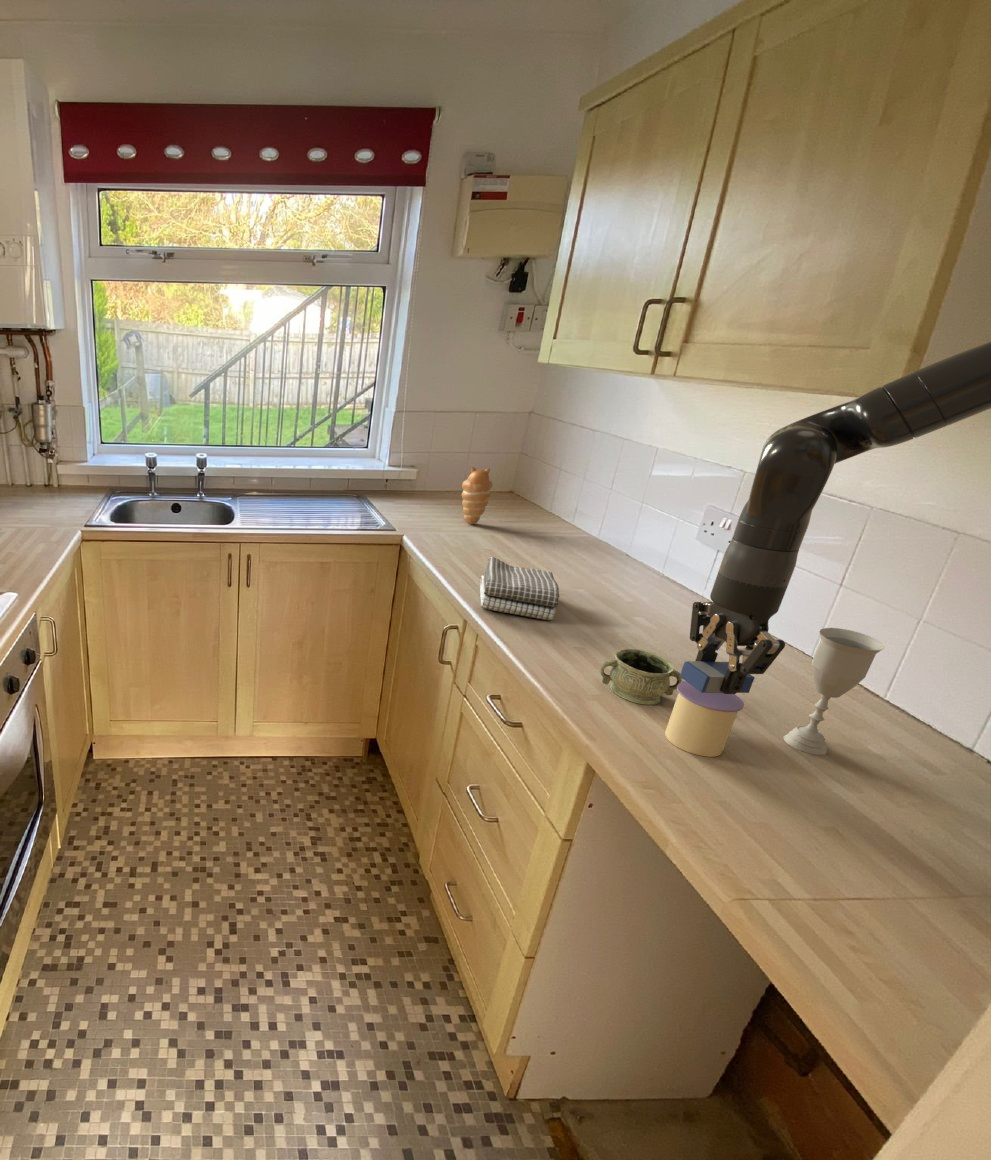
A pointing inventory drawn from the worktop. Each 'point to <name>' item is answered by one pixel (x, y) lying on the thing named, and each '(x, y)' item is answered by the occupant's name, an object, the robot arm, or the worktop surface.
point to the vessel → (640, 676)
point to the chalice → (834, 679)
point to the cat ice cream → (476, 494)
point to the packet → (710, 676)
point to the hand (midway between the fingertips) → (714, 682)
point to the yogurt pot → (702, 720)
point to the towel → (518, 590)
